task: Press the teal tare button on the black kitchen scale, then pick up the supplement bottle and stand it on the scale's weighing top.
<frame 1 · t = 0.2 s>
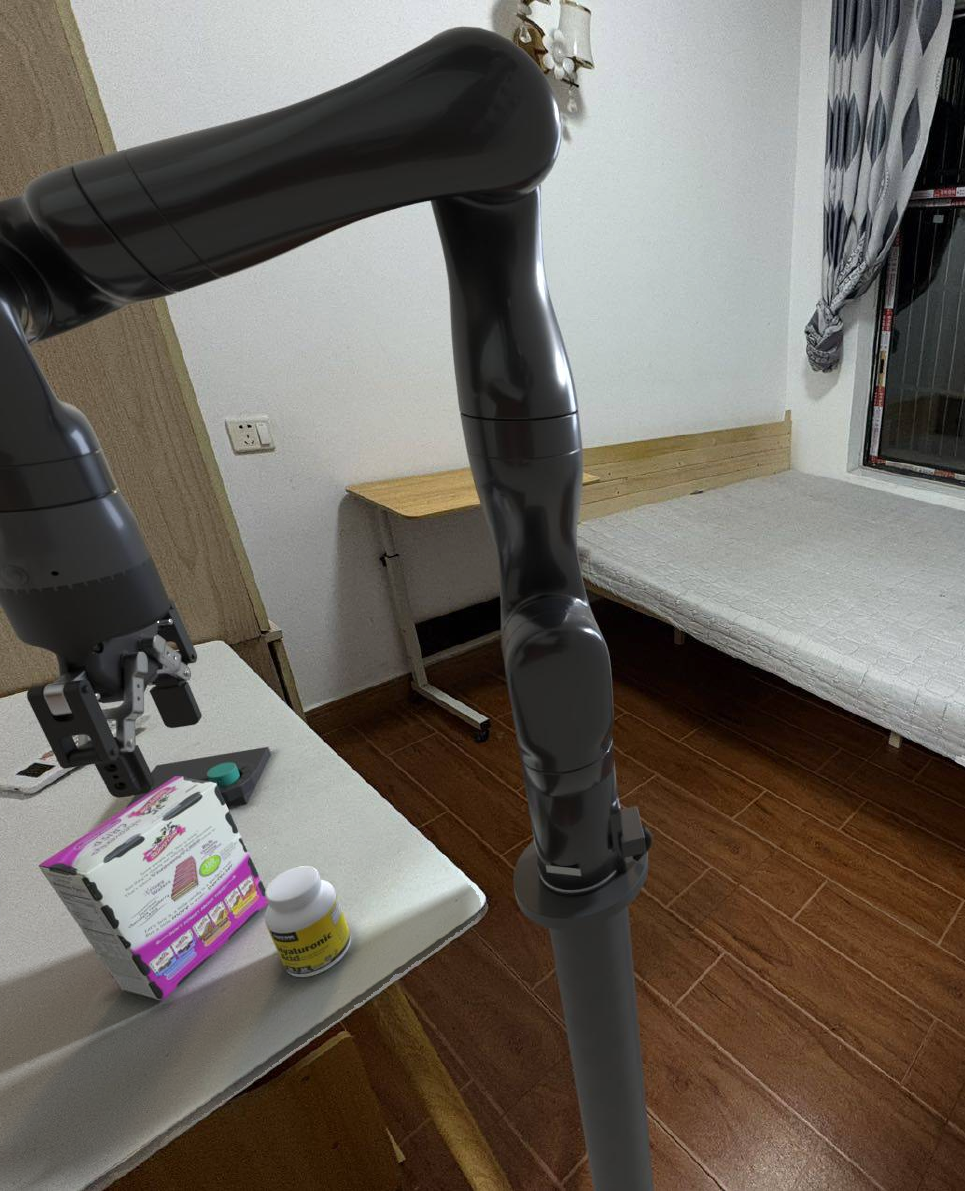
hand: (162, 755, 50), 26 cm above the table, tool pointing down, fingers open, 8 cm apart
scale: (202, 788, 82), on the table
tare button: (223, 775, 80), point 4 cm above the table, slide at 0.1 cm
candy bar box: (200, 945, 64), on the table
supplement bottle: (320, 954, 63), on the table
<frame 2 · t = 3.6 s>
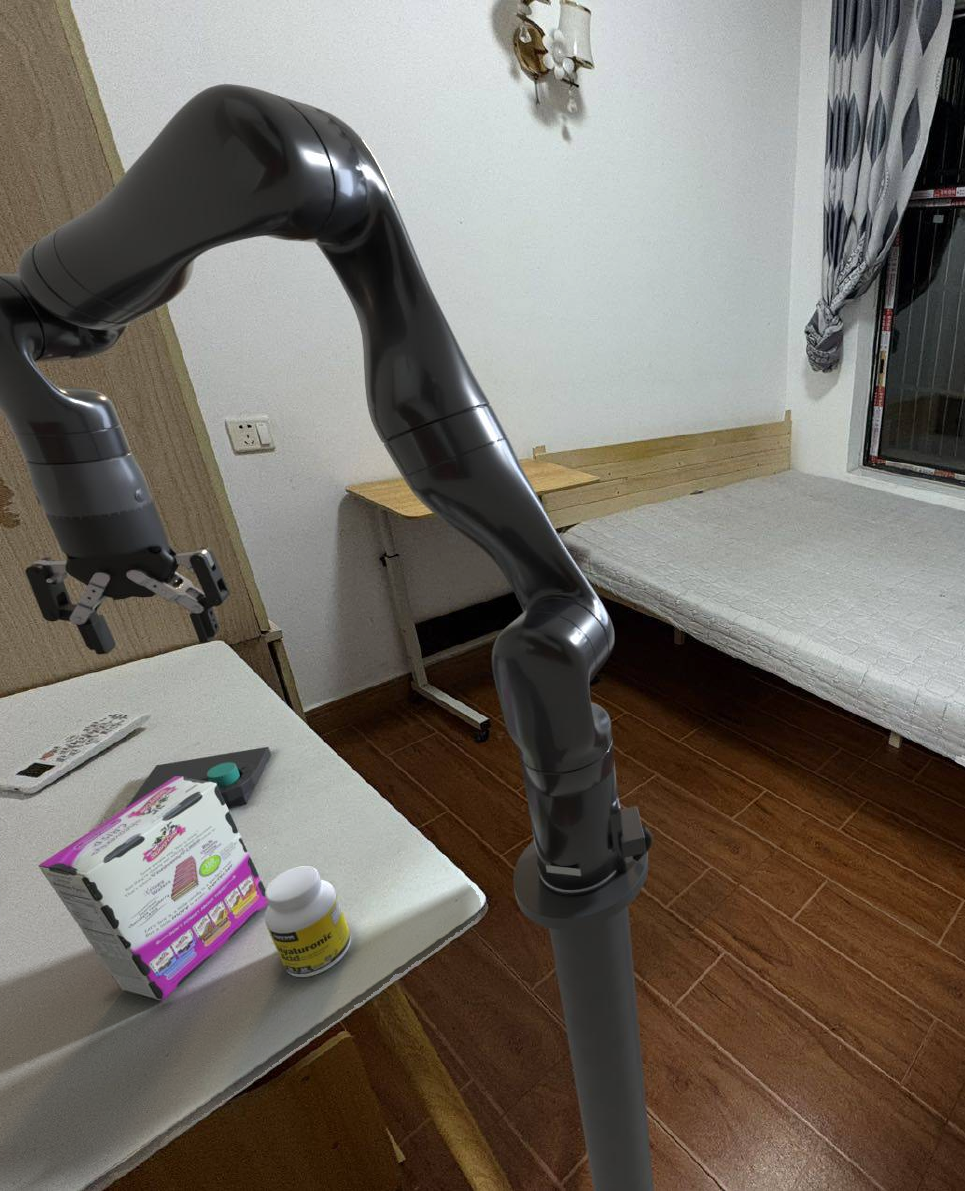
hand: (158, 645, 70), 23 cm above the table, tool pointing down, fingers open, 8 cm apart
nothing on the table moved.
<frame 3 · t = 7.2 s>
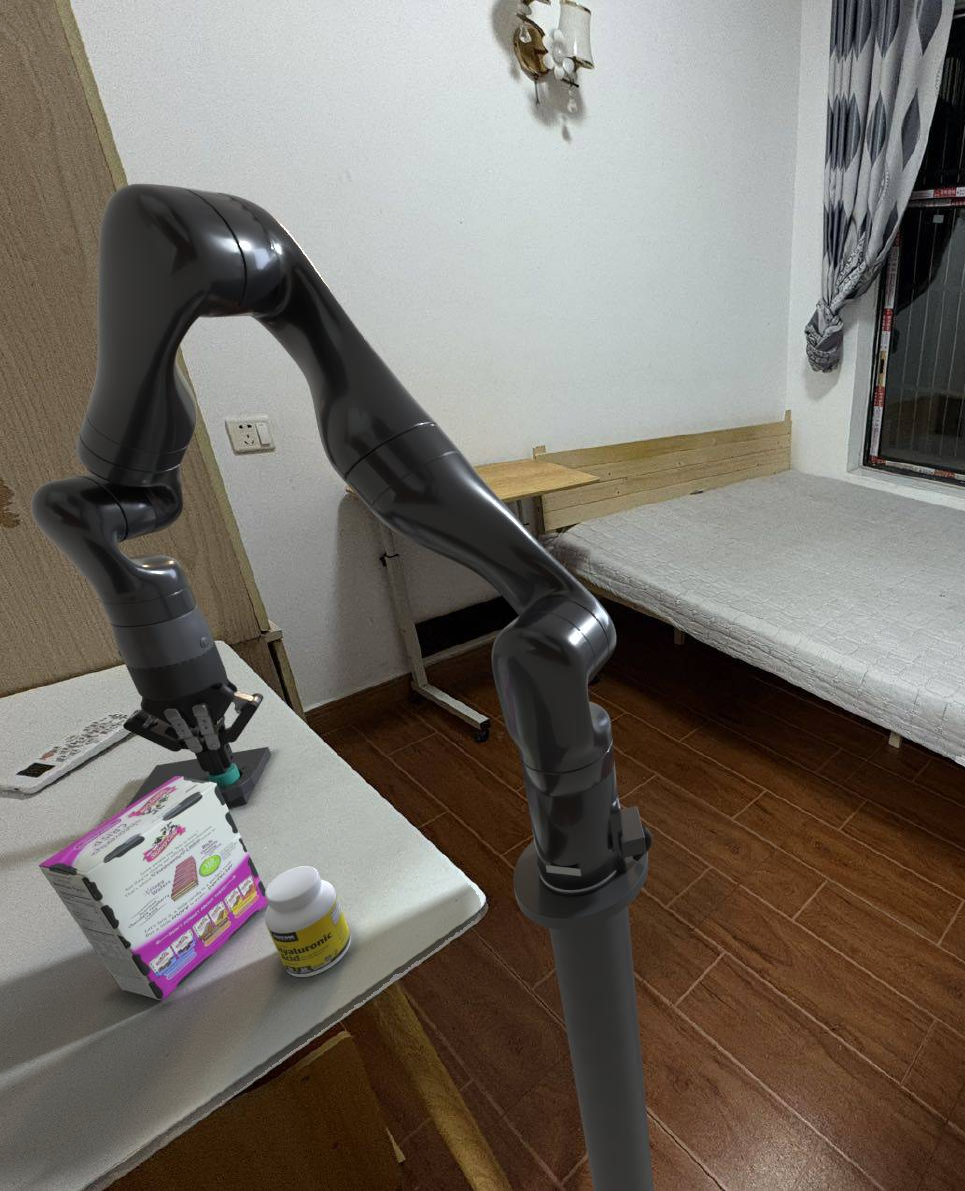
hand: (220, 769, 79), 4 cm above the table, tool pointing down, fingers closed
tare button: (223, 775, 80), point 3 cm above the table, slide at 0.1 cm, touching gripper
everything else where it was.
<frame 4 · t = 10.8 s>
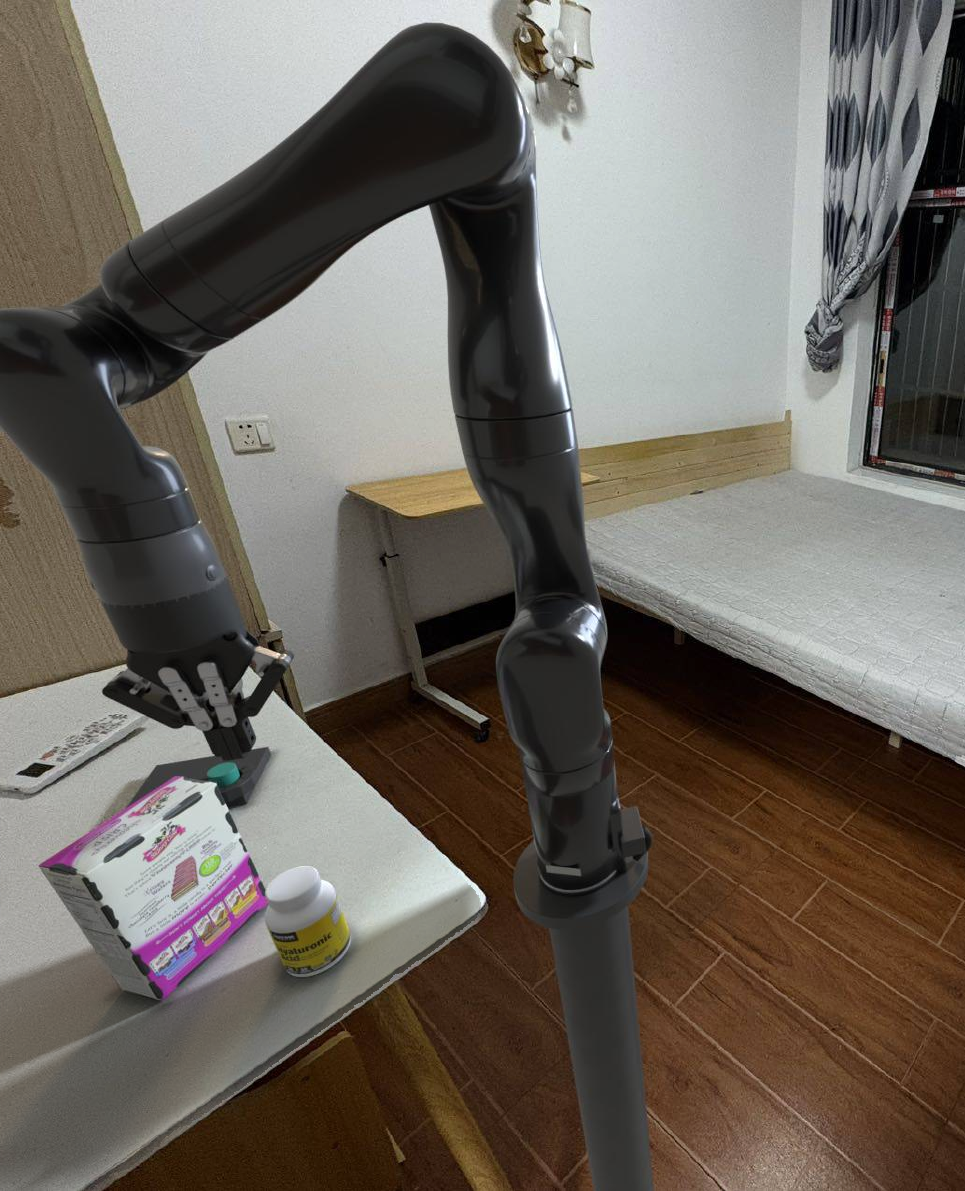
hand: (238, 754, 58), 21 cm above the table, tool pointing down, fingers closed
tare button: (223, 775, 80), point 4 cm above the table, slide at 0.1 cm
everything else where it was.
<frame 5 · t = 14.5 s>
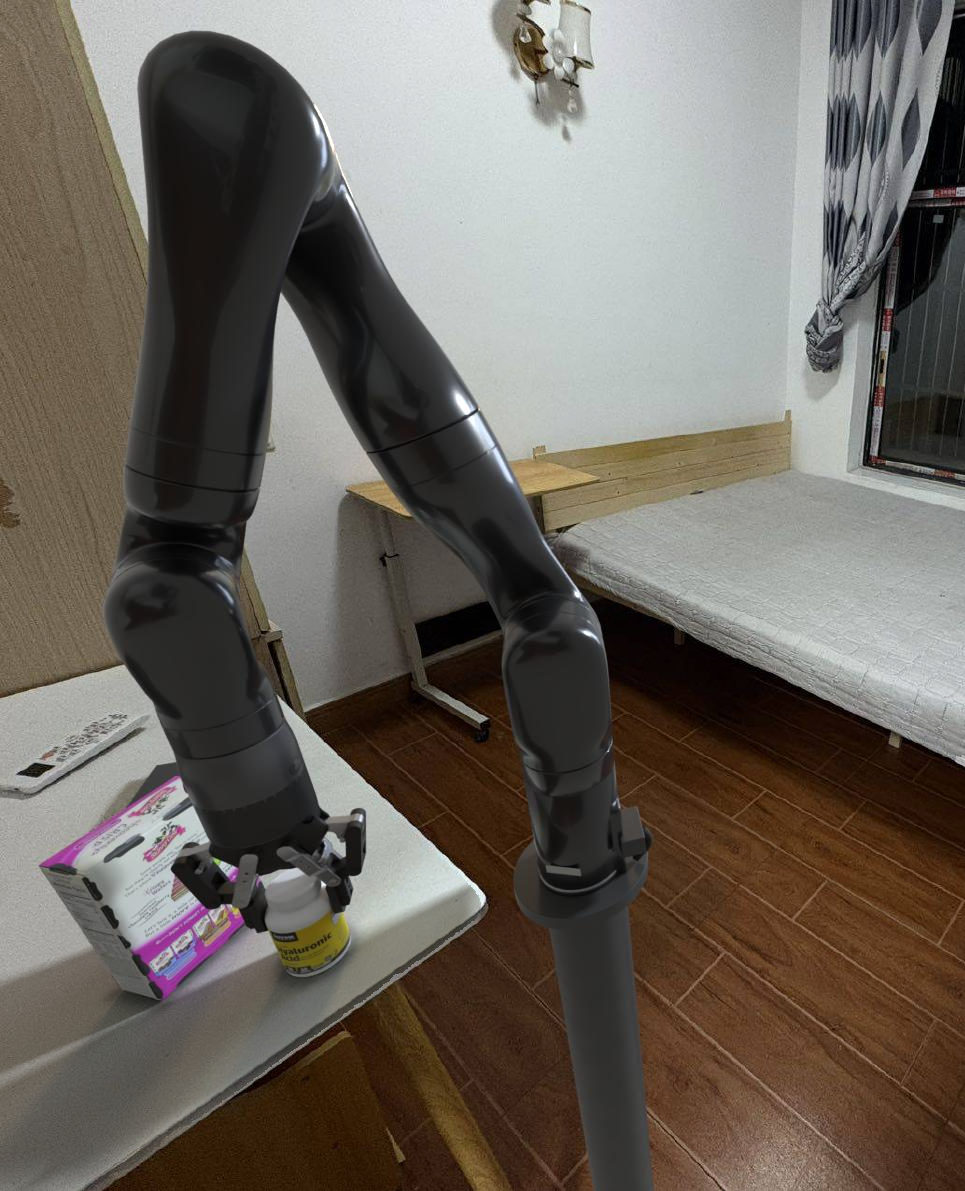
hand: (304, 914, 61), 5 cm above the table, tool pointing down, fingers closed on supplement bottle, 5 cm apart
supplement bottle: (320, 954, 63), on the table, touching gripper
everything else where it was.
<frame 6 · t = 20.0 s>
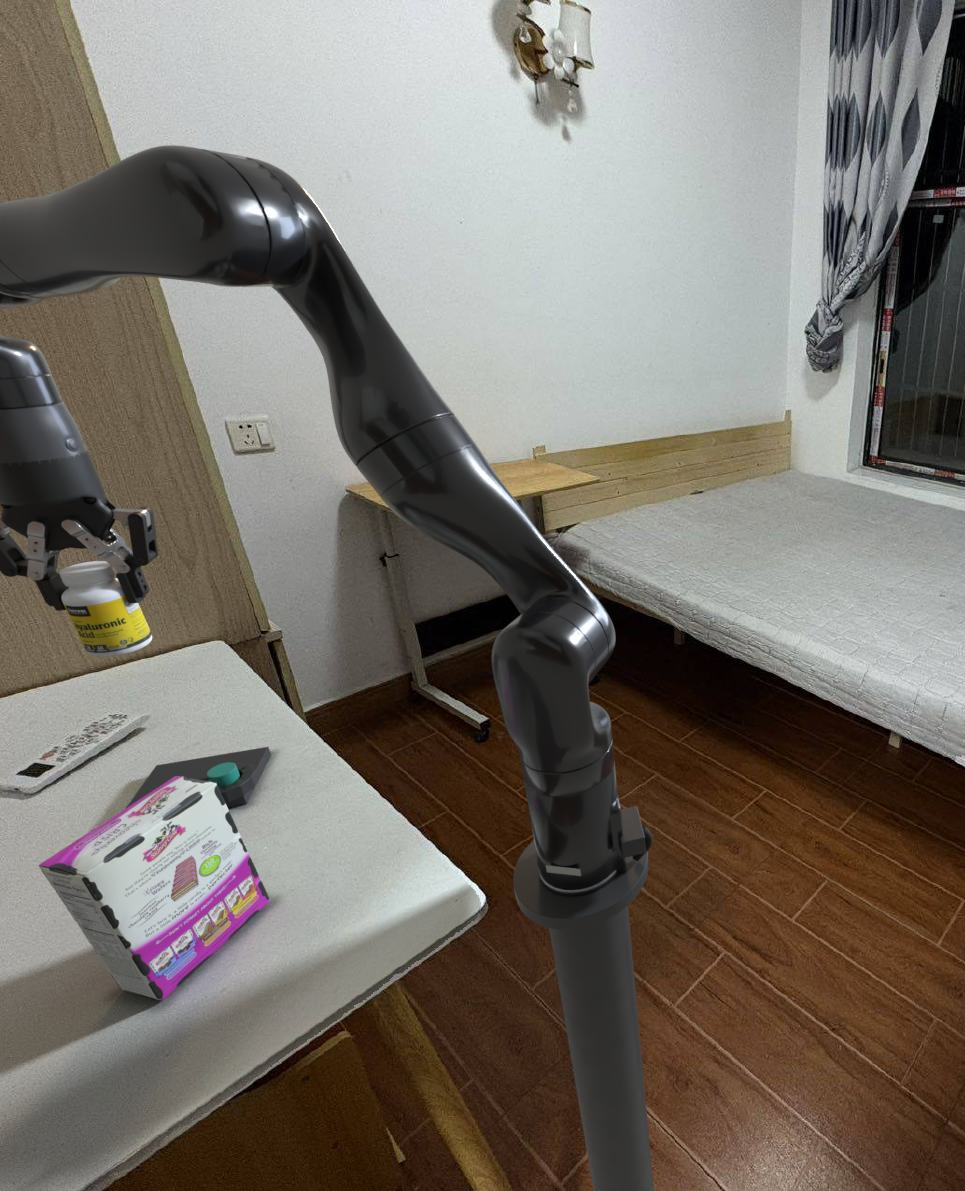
hand: (102, 603, 71), 26 cm above the table, tool pointing down, fingers closed on supplement bottle, 5 cm apart
supplement bottle: (122, 648, 73), point 21 cm above the table, touching gripper
everything else where it was.
when the fingers open (7 cm above the table, at t = 25.7 s): supplement bottle stays where it is, resting on scale.
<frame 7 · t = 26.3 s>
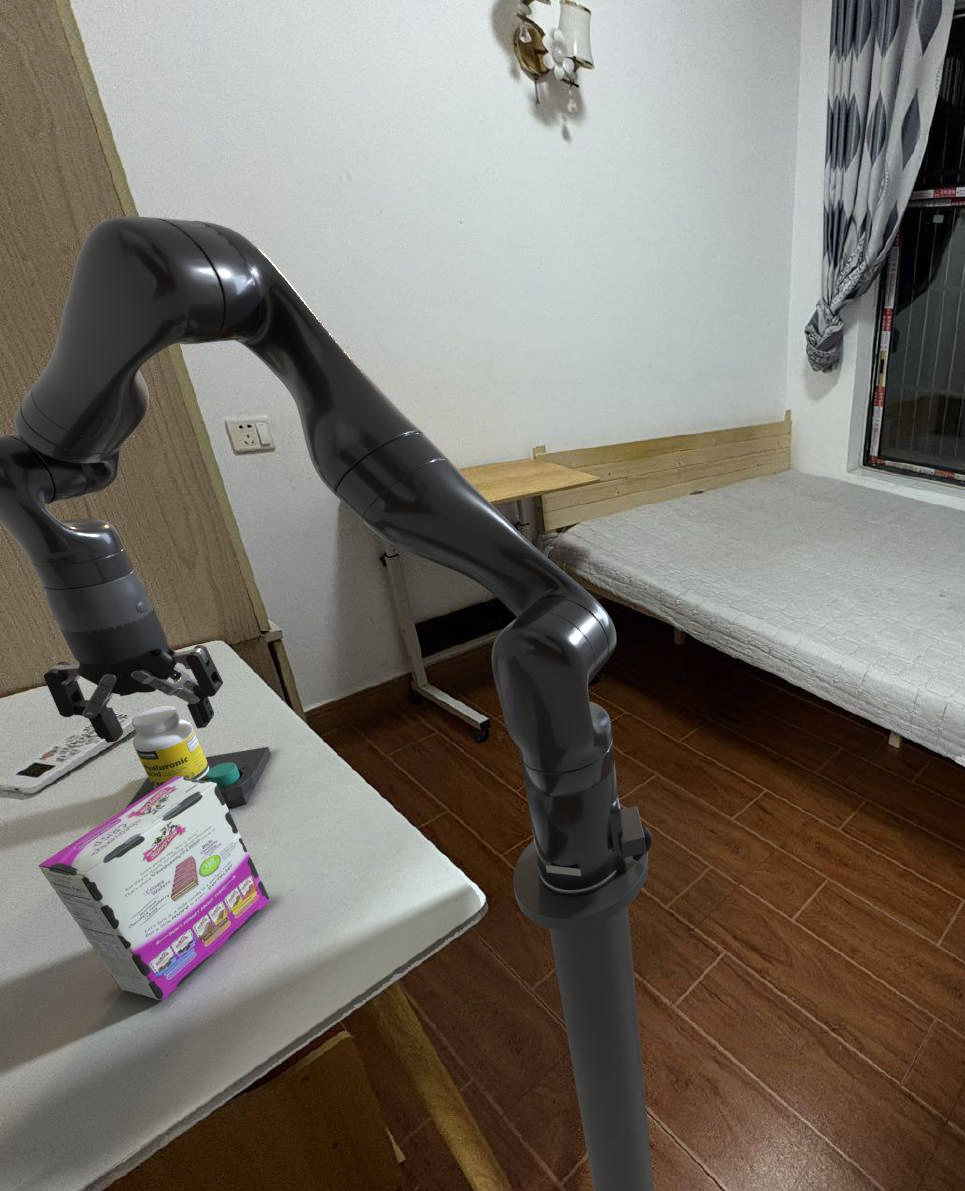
hand: (160, 731, 79), 9 cm above the table, tool pointing down, fingers open, 8 cm apart
supplement bottle: (183, 779, 82), point 1 cm above the table, touching scale
everything else where it was.
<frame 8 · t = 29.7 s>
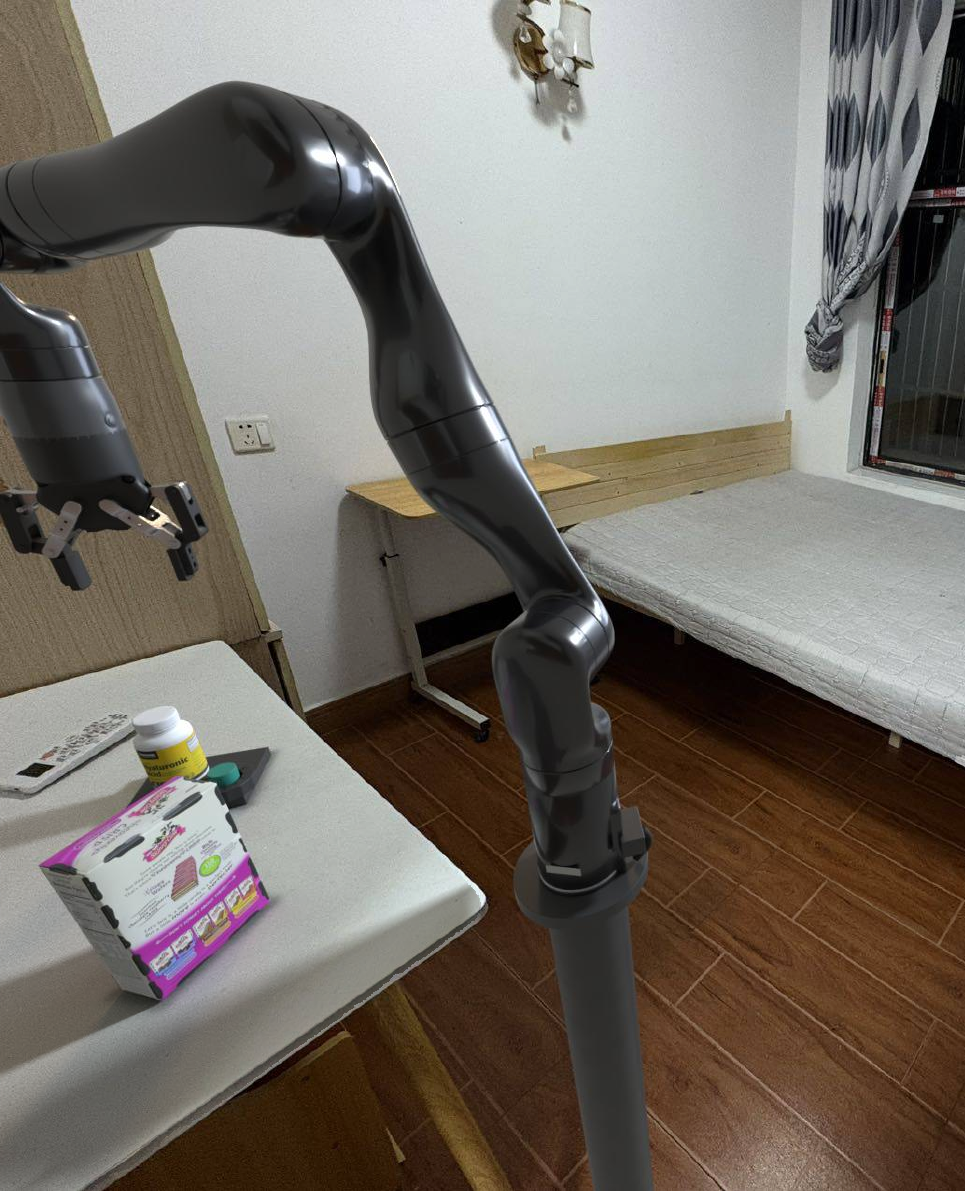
hand: (136, 583, 68), 30 cm above the table, tool pointing down, fingers open, 8 cm apart
nothing on the table moved.
at the end: tare button pushed in 0.9 cm at the most during the clip, back to where it started at the end; supplement bottle inside the target area on the scale (2.1 cm from its centre), point 1.2 cm above the scale's base; supplement bottle touching scale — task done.
